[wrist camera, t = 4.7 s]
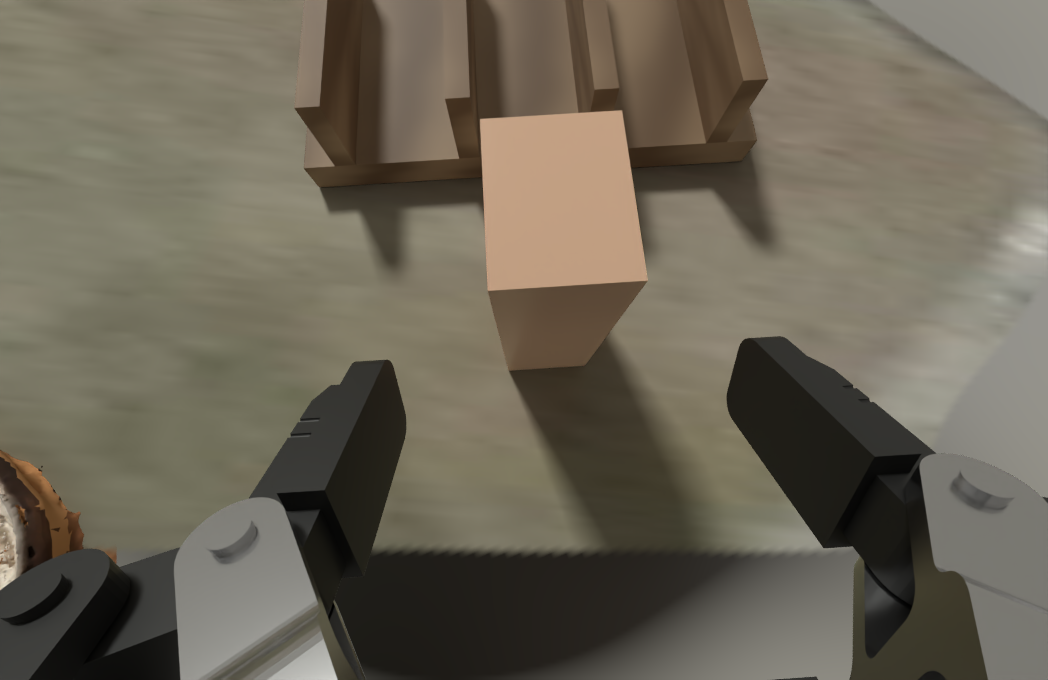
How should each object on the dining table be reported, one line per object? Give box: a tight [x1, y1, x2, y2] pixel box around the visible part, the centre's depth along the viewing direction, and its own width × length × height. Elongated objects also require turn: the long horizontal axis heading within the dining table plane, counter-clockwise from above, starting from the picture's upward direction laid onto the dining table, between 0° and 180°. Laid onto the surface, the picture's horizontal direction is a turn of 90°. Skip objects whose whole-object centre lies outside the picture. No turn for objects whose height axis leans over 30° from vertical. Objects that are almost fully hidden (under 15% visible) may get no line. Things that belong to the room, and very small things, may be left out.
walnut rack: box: [294, 0, 768, 187], centre depth 20 cm, size 22×12×5 cm, turn 94°
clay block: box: [480, 110, 648, 371], centre depth 14 cm, size 4×4×10 cm
